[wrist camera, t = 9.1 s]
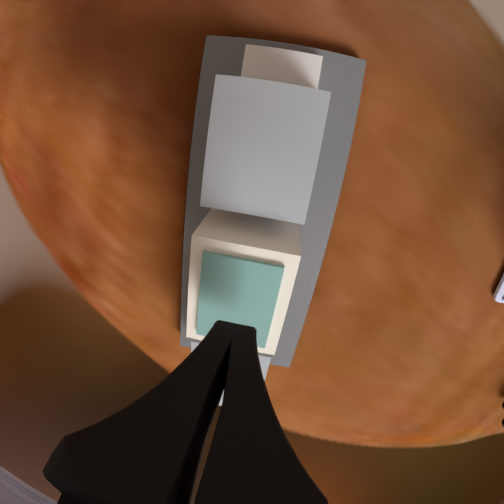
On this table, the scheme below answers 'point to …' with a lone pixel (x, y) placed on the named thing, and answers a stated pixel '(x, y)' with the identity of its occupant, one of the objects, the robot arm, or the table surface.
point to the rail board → (324, 179)
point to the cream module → (242, 274)
